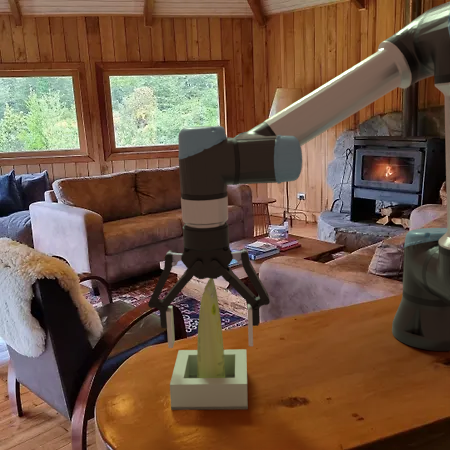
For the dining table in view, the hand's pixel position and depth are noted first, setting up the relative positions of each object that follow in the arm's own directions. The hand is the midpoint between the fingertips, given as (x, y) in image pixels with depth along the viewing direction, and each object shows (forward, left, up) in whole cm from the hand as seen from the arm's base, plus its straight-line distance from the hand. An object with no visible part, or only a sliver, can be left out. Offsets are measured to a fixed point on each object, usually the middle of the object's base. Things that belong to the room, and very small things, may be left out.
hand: (211, 343), depth 90 cm
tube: (0, 0, -8) cm, 8 cm away
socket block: (0, 0, -9) cm, 9 cm away
